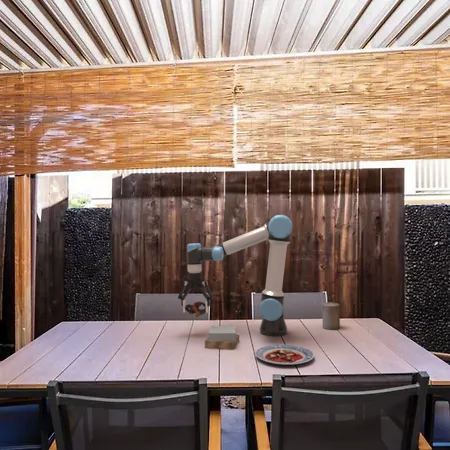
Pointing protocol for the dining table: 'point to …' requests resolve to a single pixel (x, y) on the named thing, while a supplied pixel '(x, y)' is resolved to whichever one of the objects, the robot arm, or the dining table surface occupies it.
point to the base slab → (222, 344)
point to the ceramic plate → (284, 354)
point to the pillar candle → (331, 315)
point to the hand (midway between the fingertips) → (196, 312)
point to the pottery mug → (196, 308)
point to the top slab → (222, 333)
